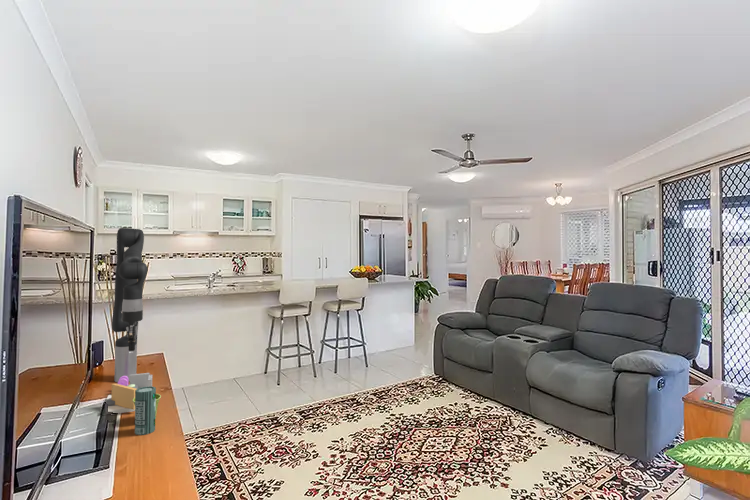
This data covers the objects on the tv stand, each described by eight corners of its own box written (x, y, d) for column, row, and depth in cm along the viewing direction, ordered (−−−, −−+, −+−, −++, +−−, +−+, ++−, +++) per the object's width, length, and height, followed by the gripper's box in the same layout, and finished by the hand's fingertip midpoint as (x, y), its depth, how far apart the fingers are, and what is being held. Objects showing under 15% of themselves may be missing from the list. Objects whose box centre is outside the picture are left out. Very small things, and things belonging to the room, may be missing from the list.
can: (158, 428, 146) (159, 387, 146) (145, 436, 140) (146, 392, 140) (144, 426, 148) (144, 385, 148) (130, 434, 142) (131, 391, 142)
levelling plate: (108, 397, 175) (109, 375, 175) (157, 391, 184) (157, 370, 184) (101, 415, 156) (101, 391, 156) (155, 408, 165) (155, 384, 165)
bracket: (117, 395, 178) (117, 379, 179) (118, 391, 183) (119, 376, 184) (150, 391, 184) (151, 376, 184) (151, 387, 189) (151, 372, 189)
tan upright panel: (102, 404, 164) (103, 384, 164) (115, 400, 168) (115, 381, 168) (129, 411, 157) (129, 391, 157) (141, 407, 161) (141, 387, 161)
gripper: (141, 311, 166) (140, 353, 166) (143, 307, 178) (143, 346, 178) (120, 312, 163) (119, 355, 163) (123, 307, 175) (123, 347, 175)
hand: (131, 350), depth 170 cm, fingers closed
